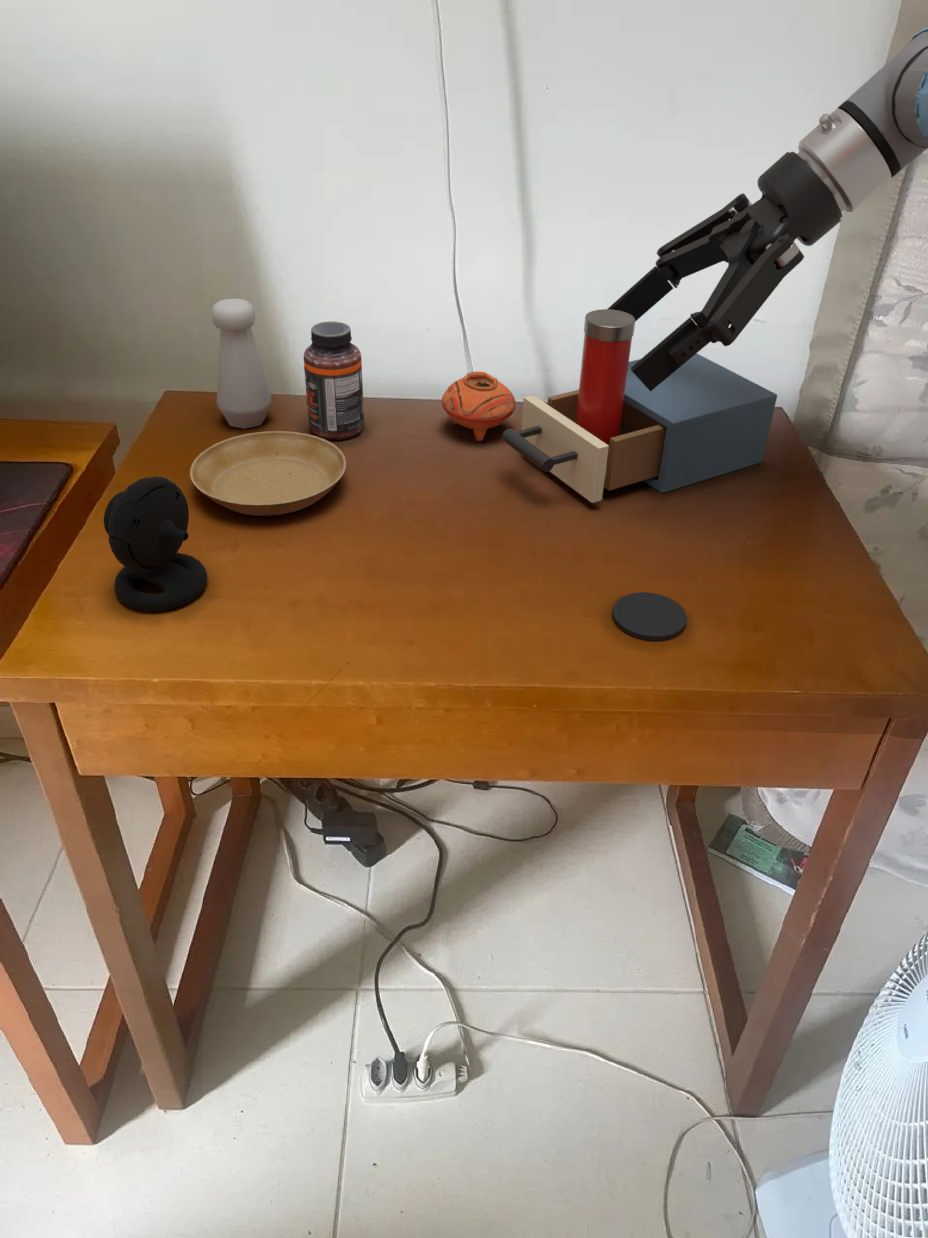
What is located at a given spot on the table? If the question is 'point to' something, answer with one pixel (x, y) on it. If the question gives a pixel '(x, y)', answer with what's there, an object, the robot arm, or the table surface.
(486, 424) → the pot
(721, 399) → the cabinet
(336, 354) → the supplement bottle
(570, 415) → the drawer
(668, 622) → the coaster
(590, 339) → the disc
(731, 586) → the table surface
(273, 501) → the plant saucer
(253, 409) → the salt shaker
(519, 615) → the table surface
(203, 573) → the webcam
